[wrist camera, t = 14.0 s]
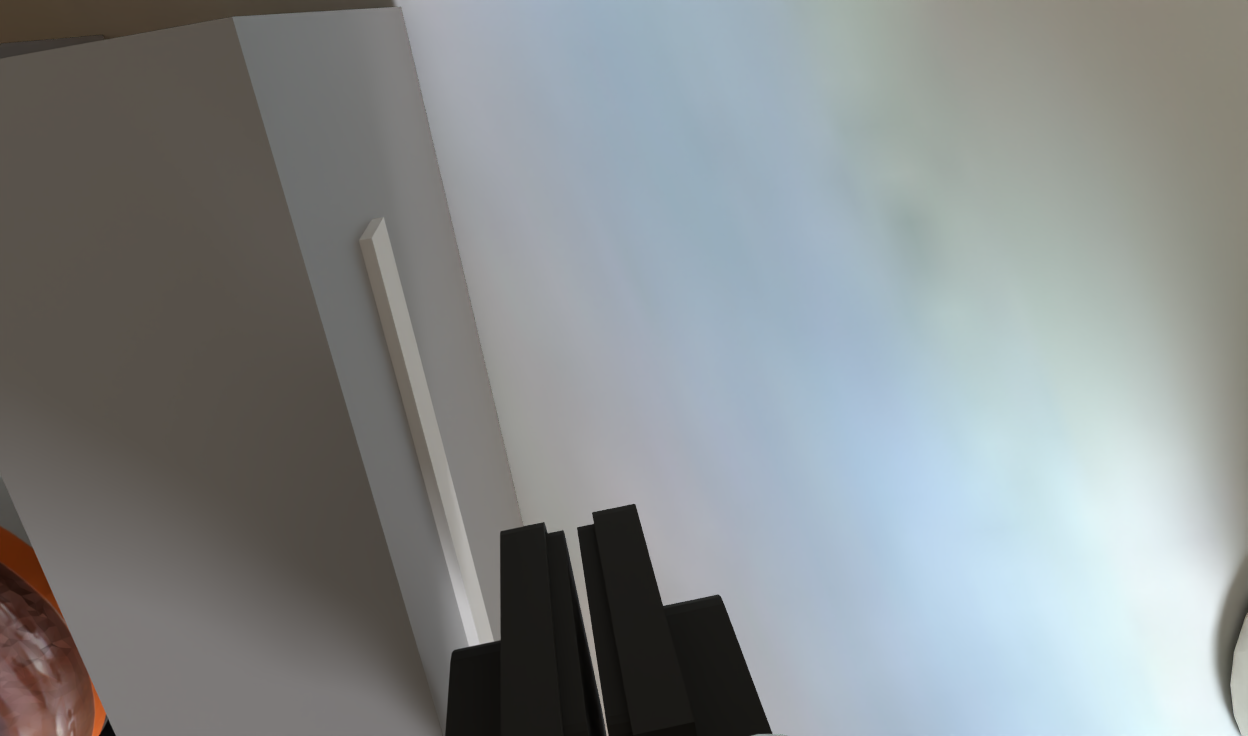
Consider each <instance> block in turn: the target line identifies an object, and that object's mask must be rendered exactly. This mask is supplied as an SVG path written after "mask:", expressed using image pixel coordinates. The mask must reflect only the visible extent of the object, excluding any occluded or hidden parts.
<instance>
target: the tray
mask: <svg viewBox="0 0 1248 736" xmlns="http://www.w3.org/2000/svg"><path fill="white" fill-rule="evenodd" d="M0 474H1V477H2V479H3V481H4V484H5V486H6V488H7V490H8V493H9V495H10V497H11V499H12V502H13V504H14V506H15V508H16V511H17V513H18V515H19V517H20V520H21V522H22V524H23V527H24V529H25V531H26V533H27V536H28V538H29V540H30V542H31V545H32V547H33V549H34V551H35V554H36V556H37V558H38V561H39V563H40V565H41V567H42V570H43V572H44V574H45V576H46V579H47V581H48V583H49V585H50V588H51V590H52V592H53V595H54V597H55V599H56V601H57V604H58V606H59V608H60V610H61V613H62V615H63V617H64V619H65V622H66V624H67V626H68V629H69V631H70V633H71V635H72V638H73V640H74V642H75V644H76V647H77V649H78V651H79V653H80V656H81V658H82V660H83V662H84V665H85V667H86V669H87V672H88V674H89V676H90V678H91V681H92V683H93V685H94V687H95V690H96V692H97V694H98V696H99V699H100V701H101V703H102V706H103V708H104V710H105V712H106V715H107V717H108V719H109V721H110V724H111V726H112V728H113V730H114V733H115V735H116V736H445V730H446V716H447V702H448V688H449V674H450V660H451V654H452V652H453V651H454V650H456V649H461V648H465V647H470V646H475V645H480V644H484V643H489V642H494V641H499V640H501V635H500V531H504V530H508V529H513V528H518V527H523V522H522V518H521V514H520V509H519V505H518V501H517V497H516V492H515V488H514V484H513V480H512V475H511V471H510V467H509V463H508V458H507V454H506V450H505V446H504V441H503V437H502V433H501V429H500V424H499V420H498V416H497V412H496V407H495V403H494V399H493V395H492V390H491V386H490V382H489V378H488V373H487V369H486V365H485V361H484V356H483V352H482V348H481V344H480V340H479V335H478V331H477V327H476V323H475V318H474V314H473V310H472V306H471V301H470V297H469V293H468V289H467V284H466V280H465V276H464V272H463V267H462V263H461V259H460V255H459V250H458V246H457V242H456V238H455V233H454V229H453V225H452V221H451V216H450V212H449V208H448V204H447V199H446V195H445V191H444V187H443V182H442V178H441V174H440V170H439V165H438V161H437V157H436V153H435V148H434V144H433V140H432V136H431V131H430V127H429V123H428V119H427V115H426V110H425V106H424V102H423V98H422V93H421V89H420V85H419V81H418V76H417V72H416V68H415V64H414V59H413V55H412V51H411V47H410V42H409V38H408V34H407V30H406V25H405V21H404V17H403V13H402V8H401V7H386V8H369V9H352V10H336V11H319V12H302V13H286V14H269V15H252V16H236V17H228V18H222V19H217V20H211V21H206V22H200V23H195V24H189V25H184V26H178V27H172V28H167V29H161V30H156V31H150V32H145V33H139V34H134V35H128V36H123V37H117V38H112V39H106V40H101V41H95V42H90V43H84V44H78V45H73V46H67V47H62V48H56V49H51V50H45V51H40V52H34V53H29V54H23V55H18V56H12V57H7V58H1V59H0Z"/></svg>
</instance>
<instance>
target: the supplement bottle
mask: <svg viewBox="0 0 1248 736" xmlns="http://www.w3.org/2000/svg"><path fill="white" fill-rule="evenodd" d="M107 720H108V717H107V715H106V712H105V710H104V708H103V706H102V703H101V701H100V699H99V696H98V694H97V692H96V690H95V687H94V685H93V683H92V681H91V678H90V676H89V674H88V672H87V669H86V667H85V665H84V662H83V660H82V658H81V656H80V653H79V651H78V649H77V647H76V644H75V642H74V640H73V638H72V635H71V633H70V631H69V629H68V626H67V624H66V622H65V619H64V617H63V615H62V613H61V610H60V608H59V606H58V604H57V601H56V599H55V597H54V595H53V592H52V590H51V588H50V585H49V583H48V581H47V579H46V576H45V574H44V572H43V570H42V567H41V565H40V563H39V561H38V558H37V556H36V554H35V551H34V549H33V547H32V545H31V542H30V540H29V538H28V536H27V533H26V531H25V529H24V527H23V524H22V522H21V520H20V517H19V515H18V513H17V511H16V508H15V506H14V504H13V502H12V499H11V497H10V495H9V493H8V490H7V488H6V486H5V484H4V481H3V479H2V477H1V474H0V736H99V734H100V733H101V731H102V730H103V728H104V726H105V724H106V722H107Z"/></svg>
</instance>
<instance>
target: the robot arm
mask: <svg viewBox="0 0 1248 736" xmlns="http://www.w3.org/2000/svg"><path fill="white" fill-rule="evenodd" d="M592 514H593V520H594V524H592V525H587V526H582V527H577V530H578V537H579V543H580V550H581V557H582V563H583V570H584V577H585V583H586V590H587V596H588V603H589V610H590V616H591V623H592V630H593V636H594V643H595V650H596V656H597V663H598V670H599V676H600V683H601V689H602V696H603V703H604V709H605V716H606V722H607V728H608V734H609V736H787V735H783V734H772V731H771V729H770V726H769V723H768V721H767V718H766V715H765V713H764V710H763V707H762V705H761V702H760V699H759V697H758V694H757V691H756V688H755V686H754V683H753V680H752V678H751V675H750V672H749V670H748V667H747V664H746V662H745V659H744V656H743V654H742V651H741V648H740V646H739V643H738V640H737V638H736V635H735V632H734V630H733V627H732V624H731V622H730V619H729V616H728V613H727V611H726V608H725V605H724V603H723V601H722V598H721V596H720V595H714V596H709V597H704V598H700V599H695V600H690V601H685V602H681V603H676V604H671V605H666V606H663V604H662V601H661V597H660V593H659V590H658V586H657V582H656V579H655V575H654V571H653V568H652V564H651V560H650V557H649V553H648V549H647V545H646V542H645V538H644V534H643V531H642V527H641V523H640V520H639V516H638V512H637V509H636V505H635V504H631V505H627V506H622V507H617V508H612V509H607V510H602V511H597V512H592ZM500 635H501V640H499V641H494V642H489V643H484V644H480V645H475V646H470V647H465V648H461V649H456V650H454V651H453V652H452V654H451V660H450V674H449V688H448V702H447V716H446V730H445V736H606V730H605V724H604V719H603V714H602V708H601V704H600V699H599V694H598V689H597V685H596V680H595V675H594V670H593V666H592V661H591V656H590V652H589V647H588V642H587V637H586V633H585V628H584V623H583V618H582V614H581V609H580V604H579V600H578V595H577V590H576V585H575V581H574V576H573V571H572V567H571V562H570V557H569V552H568V548H567V543H566V538H565V534H564V531H563V530H562V531H557V532H553V533H548V534H547V530H546V526H545V523H544V522H543V523H538V524H533V525H528V526H523V527H518V528H513V529H508V530H504V531H500ZM1230 686H1231V695H1232V704H1233V712H1234V717H1235V719H1236V722H1237V725H1238V727H1239V730H1240V732H1241V735H1242V736H1248V613H1247V615H1246V617H1245V620H1244V623H1243V626H1242V629H1241V632H1240V635H1239V638H1238V641H1237V644H1236V648H1235V651H1234V657H1233V666H1232V675H1231V684H1230Z"/></svg>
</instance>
